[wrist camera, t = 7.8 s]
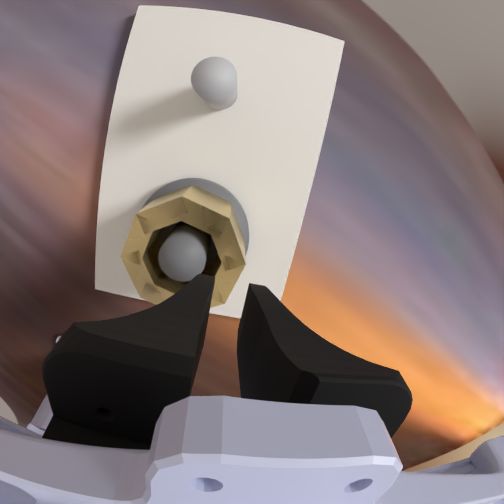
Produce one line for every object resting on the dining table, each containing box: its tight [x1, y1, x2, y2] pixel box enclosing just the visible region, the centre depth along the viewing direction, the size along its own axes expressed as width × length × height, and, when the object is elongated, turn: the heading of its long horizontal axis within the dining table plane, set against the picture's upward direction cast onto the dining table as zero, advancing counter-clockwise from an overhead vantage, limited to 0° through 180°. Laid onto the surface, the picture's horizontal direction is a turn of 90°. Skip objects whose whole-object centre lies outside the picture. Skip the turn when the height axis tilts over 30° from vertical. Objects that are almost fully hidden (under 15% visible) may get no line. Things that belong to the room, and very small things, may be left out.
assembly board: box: [95, 6, 345, 318], centre depth 15 cm, size 18×12×6 cm, turn 168°
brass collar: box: [121, 184, 246, 308], centre depth 16 cm, size 5×5×4 cm
